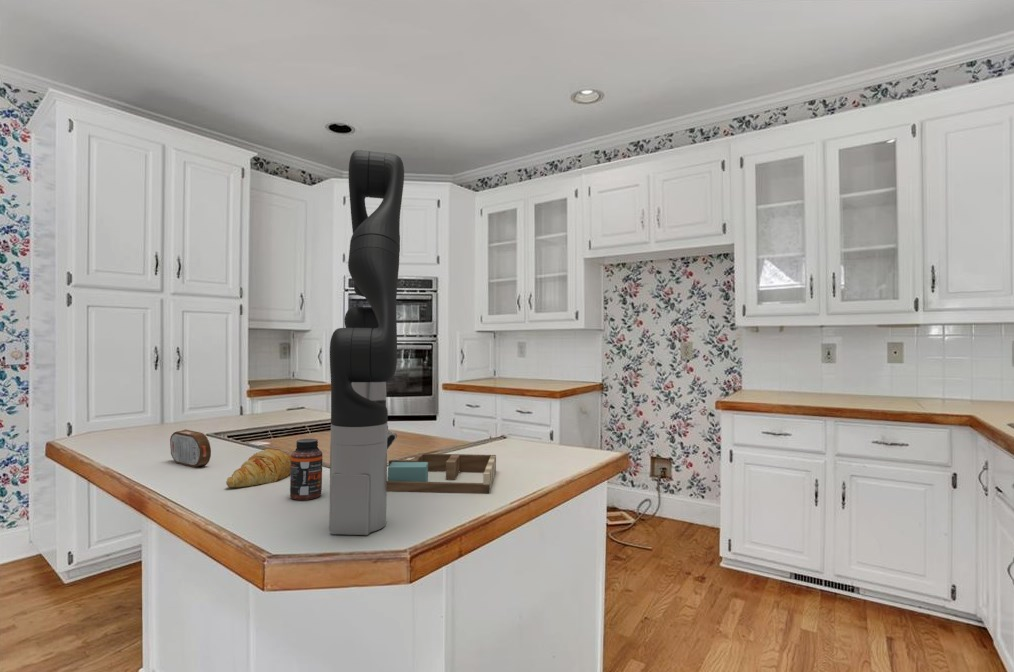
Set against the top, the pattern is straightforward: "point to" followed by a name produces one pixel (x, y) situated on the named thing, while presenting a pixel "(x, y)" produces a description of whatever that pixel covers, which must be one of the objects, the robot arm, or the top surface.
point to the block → (408, 471)
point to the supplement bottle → (306, 470)
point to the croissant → (261, 469)
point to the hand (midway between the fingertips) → (367, 476)
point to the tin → (190, 448)
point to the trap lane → (450, 473)
